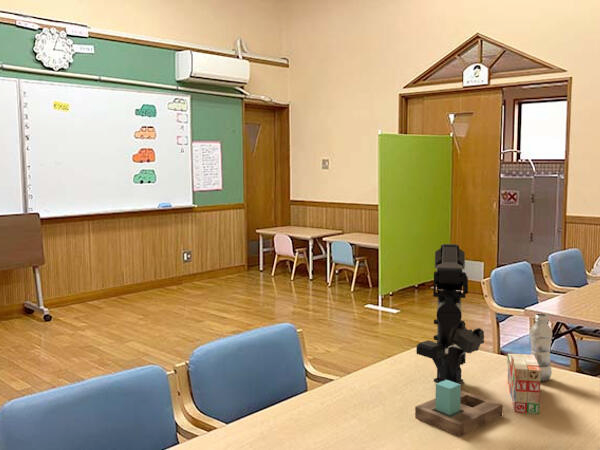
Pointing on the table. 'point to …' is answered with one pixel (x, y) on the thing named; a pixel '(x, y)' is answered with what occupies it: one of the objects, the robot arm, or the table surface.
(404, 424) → the table surface
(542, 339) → the plastic bottle
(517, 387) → the stack of blocks
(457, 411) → the teal peg
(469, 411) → the walnut board
